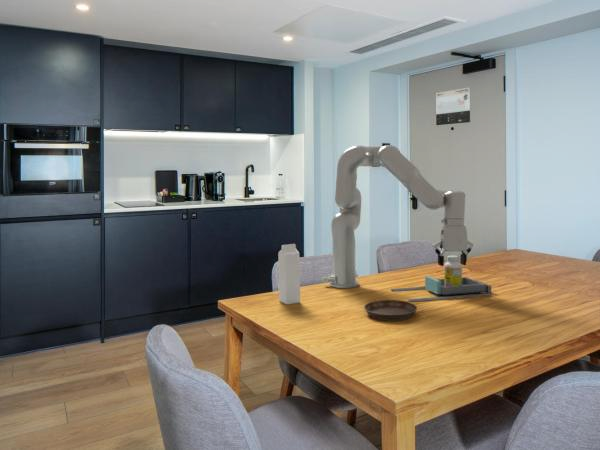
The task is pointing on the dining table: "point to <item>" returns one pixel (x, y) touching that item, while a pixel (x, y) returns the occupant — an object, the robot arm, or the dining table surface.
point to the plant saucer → (390, 310)
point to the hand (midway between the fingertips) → (451, 264)
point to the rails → (487, 293)
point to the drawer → (467, 286)
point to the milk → (289, 274)
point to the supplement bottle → (453, 272)
